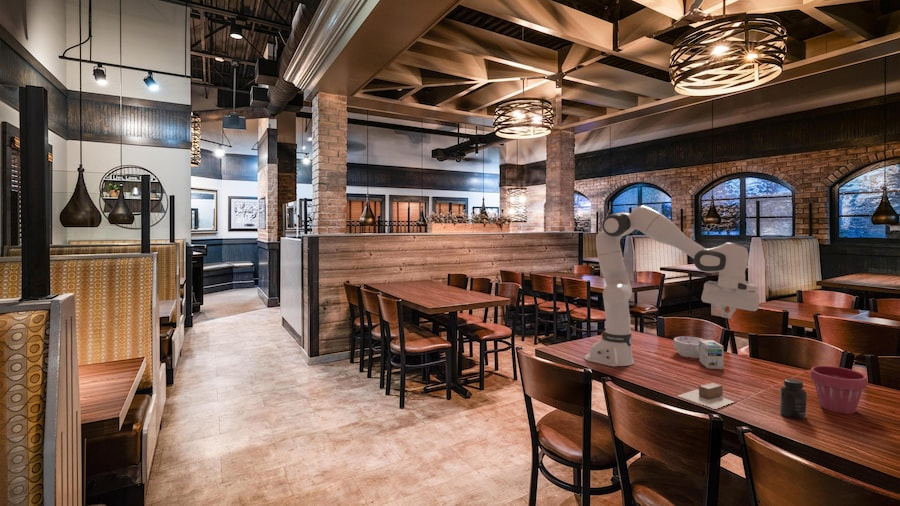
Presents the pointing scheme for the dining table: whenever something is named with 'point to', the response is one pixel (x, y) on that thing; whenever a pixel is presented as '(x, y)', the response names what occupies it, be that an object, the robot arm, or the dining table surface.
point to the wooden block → (710, 391)
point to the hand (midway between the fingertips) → (726, 317)
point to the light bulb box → (711, 354)
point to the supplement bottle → (793, 399)
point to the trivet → (705, 400)
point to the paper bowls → (687, 346)
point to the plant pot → (838, 388)
